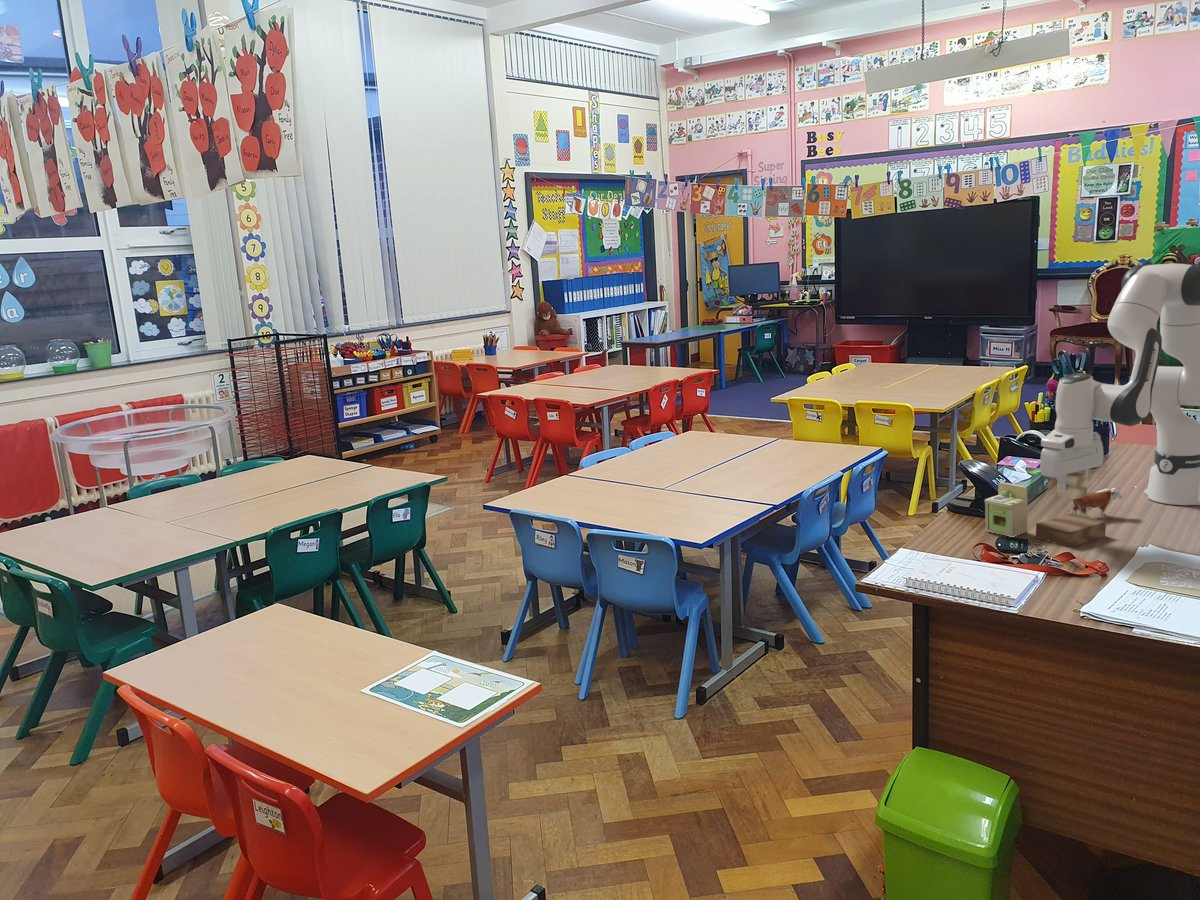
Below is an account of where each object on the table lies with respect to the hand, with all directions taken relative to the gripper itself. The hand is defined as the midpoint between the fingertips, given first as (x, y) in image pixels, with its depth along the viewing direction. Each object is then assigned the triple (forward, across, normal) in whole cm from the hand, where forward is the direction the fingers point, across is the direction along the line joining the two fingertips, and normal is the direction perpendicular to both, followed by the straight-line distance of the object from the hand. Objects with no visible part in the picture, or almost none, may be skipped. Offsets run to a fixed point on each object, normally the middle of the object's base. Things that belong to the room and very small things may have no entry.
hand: (1071, 487), depth 235 cm
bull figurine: (+14, -20, -7) cm, 25 cm away
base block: (+14, 0, 0) cm, 14 cm away
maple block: (+2, 0, 0) cm, 2 cm away
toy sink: (+14, +9, -13) cm, 21 cm away
